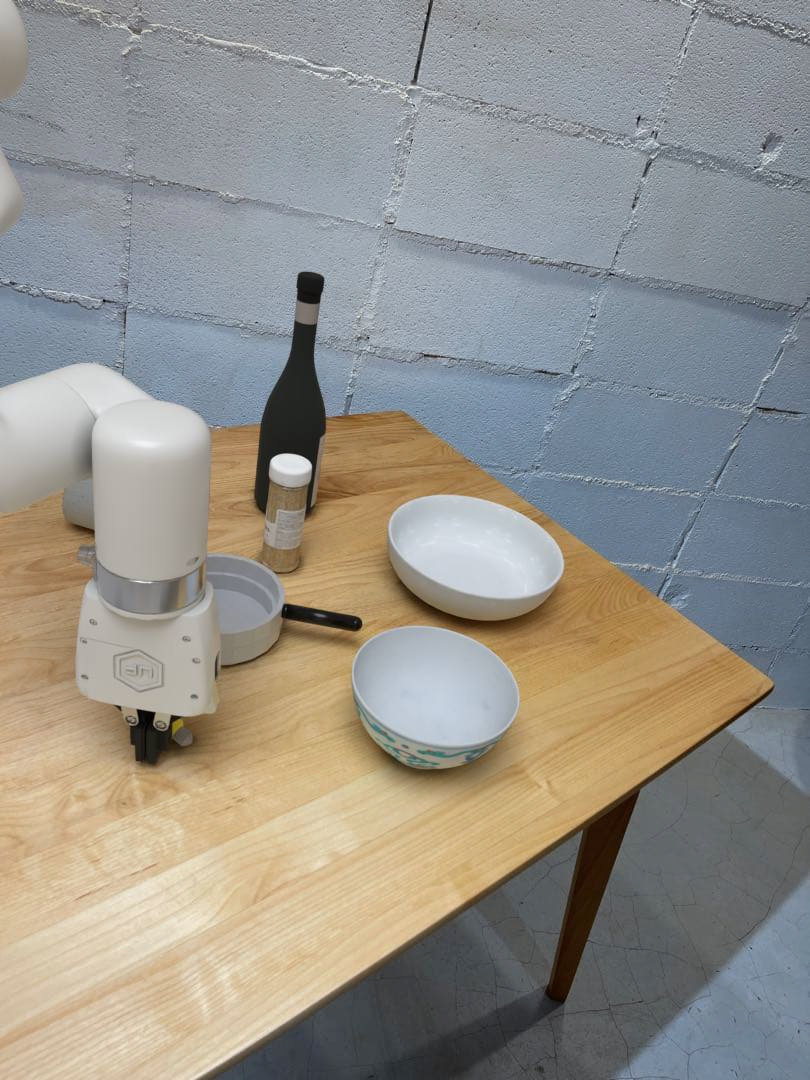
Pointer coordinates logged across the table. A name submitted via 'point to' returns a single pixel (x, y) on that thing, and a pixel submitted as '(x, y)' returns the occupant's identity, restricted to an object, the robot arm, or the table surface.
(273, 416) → the wine bottle
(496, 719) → the chinaware
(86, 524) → the ceramic mug
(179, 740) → the light bulb
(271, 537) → the spice jar
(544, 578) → the serving bowl
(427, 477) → the table surface
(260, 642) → the pan
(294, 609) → the pan handle
